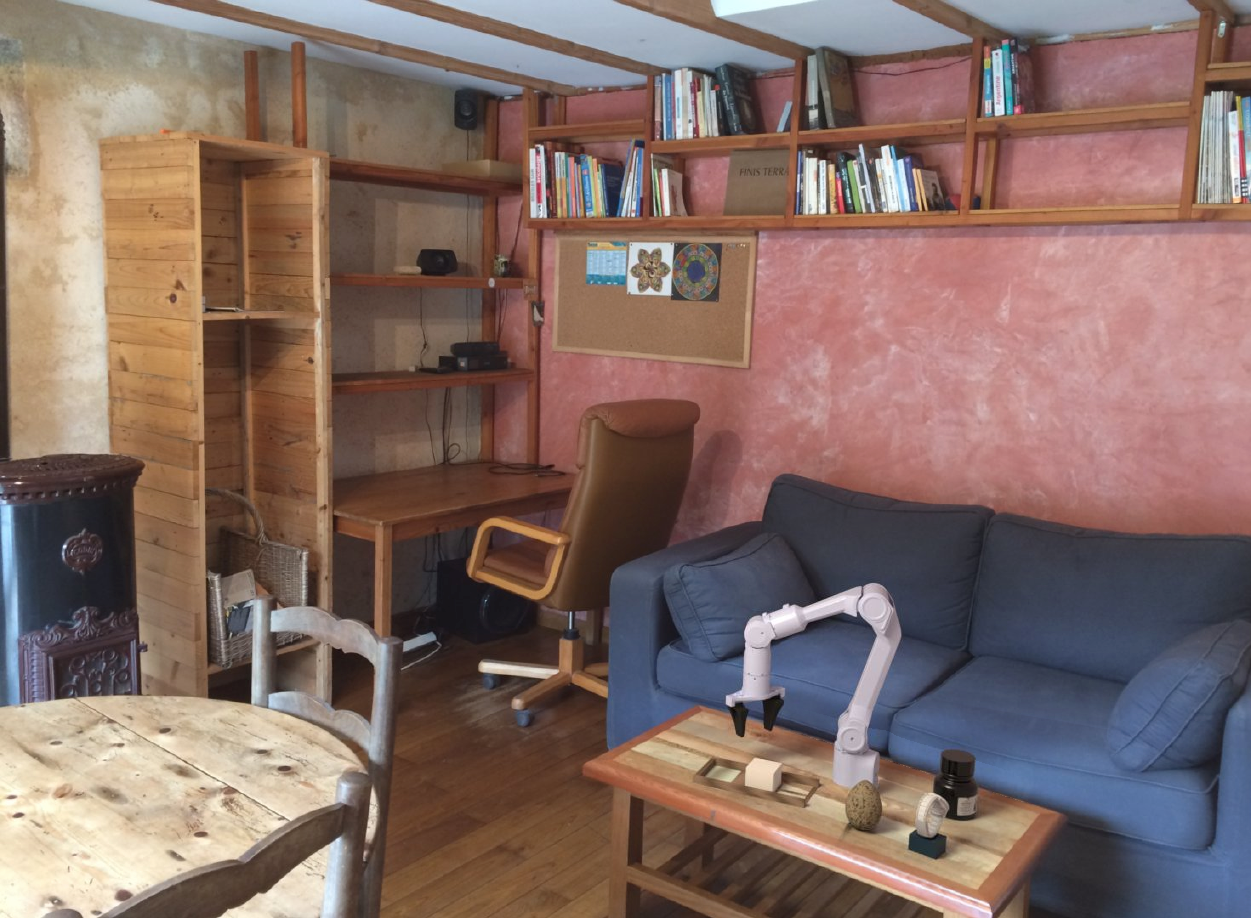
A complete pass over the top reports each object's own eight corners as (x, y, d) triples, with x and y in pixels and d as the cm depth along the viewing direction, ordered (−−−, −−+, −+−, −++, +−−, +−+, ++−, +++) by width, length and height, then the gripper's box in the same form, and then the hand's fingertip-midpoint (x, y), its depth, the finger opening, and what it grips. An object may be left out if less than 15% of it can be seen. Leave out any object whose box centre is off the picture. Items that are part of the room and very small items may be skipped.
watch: (950, 848, 210) (954, 793, 209) (931, 862, 204) (935, 806, 203) (922, 838, 214) (926, 784, 212) (903, 852, 208) (907, 796, 206)
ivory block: (780, 783, 233) (781, 763, 233) (772, 794, 228) (773, 773, 227) (753, 777, 236) (754, 757, 235) (744, 788, 230) (745, 767, 230)
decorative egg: (888, 829, 217) (891, 781, 216) (866, 840, 212) (869, 791, 211) (858, 816, 222) (861, 769, 221) (836, 826, 217) (839, 778, 216)
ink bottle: (969, 825, 220) (974, 768, 218) (925, 814, 224) (929, 758, 223) (981, 808, 228) (986, 752, 227) (938, 797, 233) (943, 743, 231)
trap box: (818, 792, 233) (819, 778, 233) (803, 814, 222) (803, 800, 222) (712, 769, 243) (712, 756, 242) (692, 789, 232) (692, 776, 232)
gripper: (771, 662, 245) (769, 721, 246) (718, 671, 237) (716, 731, 239) (792, 671, 239) (789, 731, 240) (738, 681, 231) (735, 743, 233)
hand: (754, 732), depth 239 cm, fingers open, 7 cm apart
